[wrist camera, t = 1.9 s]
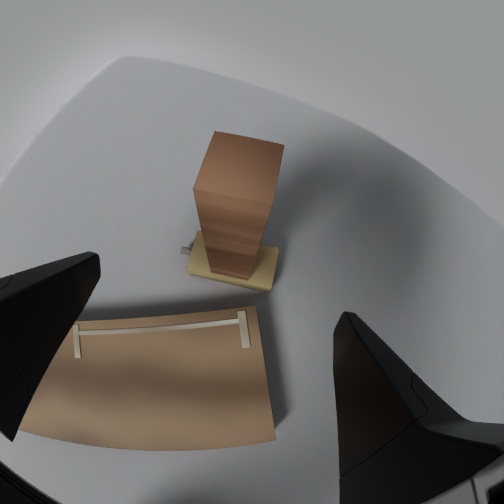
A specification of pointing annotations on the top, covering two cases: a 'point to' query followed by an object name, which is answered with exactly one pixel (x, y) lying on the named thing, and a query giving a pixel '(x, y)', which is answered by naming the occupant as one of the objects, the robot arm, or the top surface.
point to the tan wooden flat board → (157, 384)
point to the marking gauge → (235, 211)
